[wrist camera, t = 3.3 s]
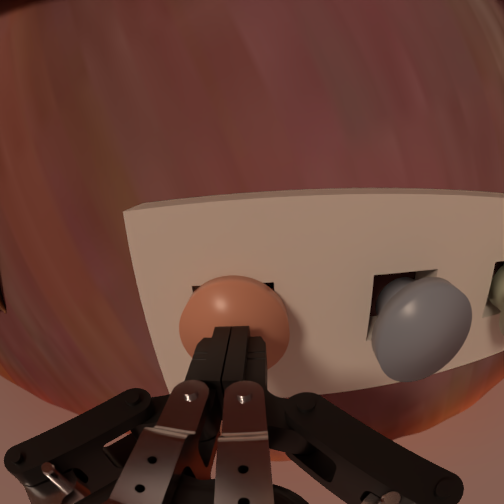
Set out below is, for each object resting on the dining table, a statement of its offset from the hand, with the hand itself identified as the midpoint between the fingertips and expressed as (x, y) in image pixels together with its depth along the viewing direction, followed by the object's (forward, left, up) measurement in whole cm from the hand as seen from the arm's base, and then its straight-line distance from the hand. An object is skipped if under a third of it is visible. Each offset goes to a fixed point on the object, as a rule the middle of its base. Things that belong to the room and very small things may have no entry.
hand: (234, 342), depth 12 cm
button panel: (-6, +6, -5) cm, 10 cm away
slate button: (-6, +6, -3) cm, 9 cm away
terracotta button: (0, 0, -4) cm, 4 cm away
